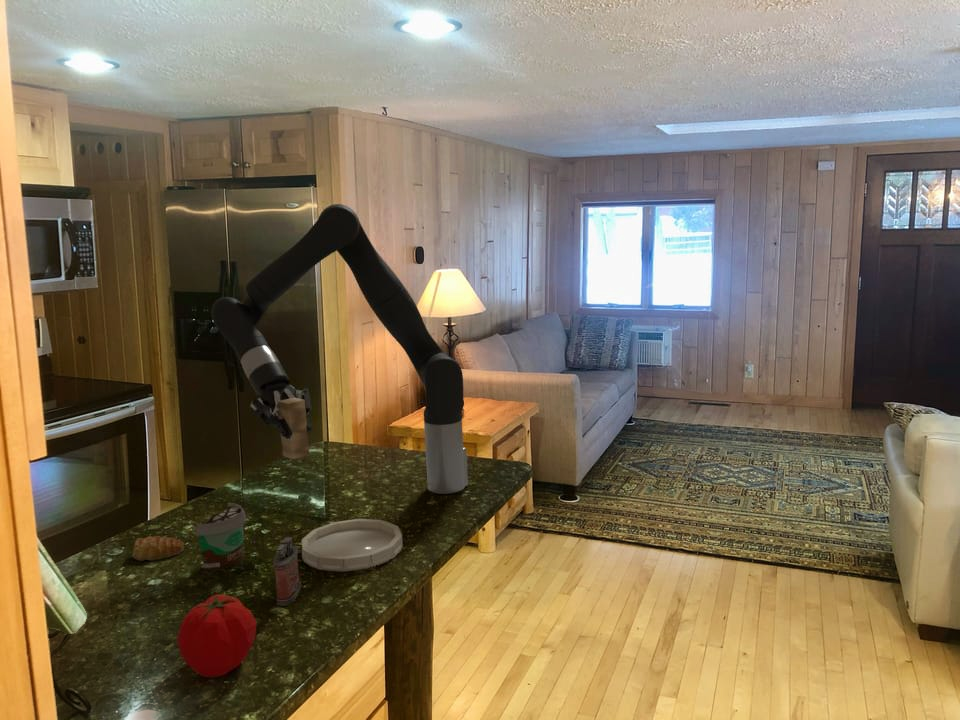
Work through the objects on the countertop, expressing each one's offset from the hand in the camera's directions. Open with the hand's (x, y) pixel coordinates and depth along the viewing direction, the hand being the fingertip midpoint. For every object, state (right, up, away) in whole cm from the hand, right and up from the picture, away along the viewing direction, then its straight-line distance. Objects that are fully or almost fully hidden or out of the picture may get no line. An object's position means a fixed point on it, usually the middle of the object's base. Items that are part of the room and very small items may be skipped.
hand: (299, 433), depth 161 cm
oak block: (-1, -5, +2) cm, 5 cm away
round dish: (+12, -23, -6) cm, 27 cm away
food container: (-11, -24, -10) cm, 29 cm away
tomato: (-1, -30, -46) cm, 55 cm away
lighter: (+4, -26, -24) cm, 36 cm away
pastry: (-28, -24, -4) cm, 38 cm away
